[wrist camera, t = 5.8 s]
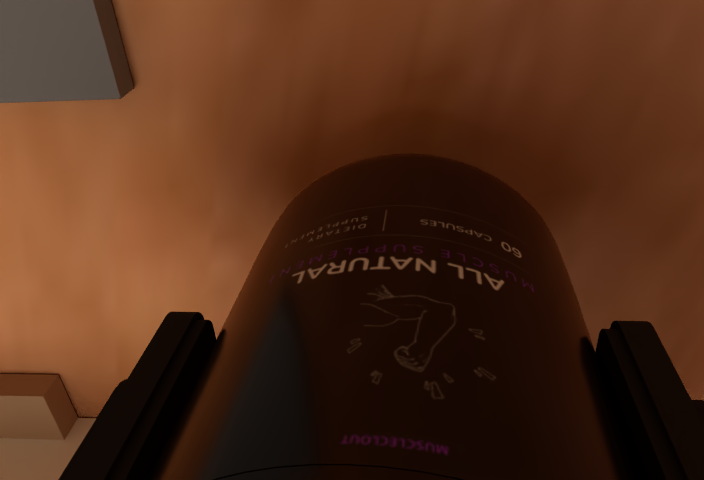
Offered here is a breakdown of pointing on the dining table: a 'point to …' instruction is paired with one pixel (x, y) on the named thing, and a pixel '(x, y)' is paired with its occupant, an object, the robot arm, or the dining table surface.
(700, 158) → the dining table surface
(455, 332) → the supplement bottle
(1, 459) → the screen
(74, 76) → the pad
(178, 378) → the robot arm
